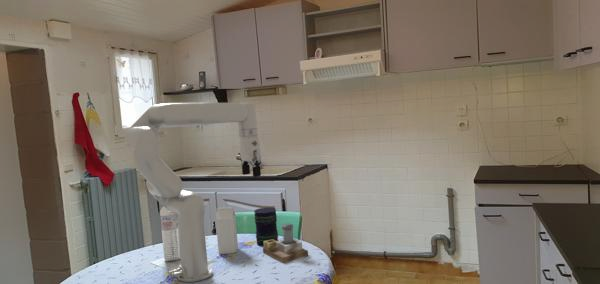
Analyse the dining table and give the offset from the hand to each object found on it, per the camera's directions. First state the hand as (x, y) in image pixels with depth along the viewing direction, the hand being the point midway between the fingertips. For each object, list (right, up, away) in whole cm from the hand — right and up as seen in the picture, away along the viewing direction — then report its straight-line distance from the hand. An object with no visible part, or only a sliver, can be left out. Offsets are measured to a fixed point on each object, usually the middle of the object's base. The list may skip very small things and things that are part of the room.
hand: (251, 175), depth 179 cm
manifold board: (+14, -32, +1) cm, 35 cm away
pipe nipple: (+15, -30, +1) cm, 34 cm away
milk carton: (-11, -34, +11) cm, 37 cm away
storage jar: (+5, -32, +19) cm, 37 cm away
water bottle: (-33, -36, +5) cm, 49 cm away
